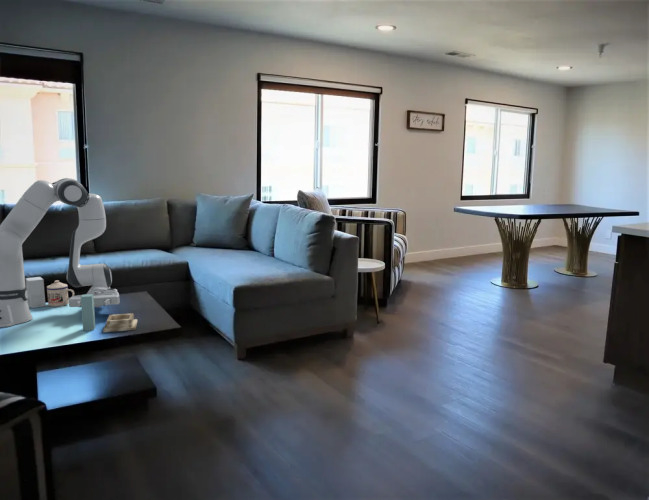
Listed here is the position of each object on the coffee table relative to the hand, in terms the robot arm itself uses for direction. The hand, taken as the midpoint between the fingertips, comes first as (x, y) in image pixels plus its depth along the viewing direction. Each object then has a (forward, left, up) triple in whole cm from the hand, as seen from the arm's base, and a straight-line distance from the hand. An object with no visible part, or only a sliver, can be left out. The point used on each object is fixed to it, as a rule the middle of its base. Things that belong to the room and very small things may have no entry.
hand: (92, 304), depth 214 cm
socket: (+12, -10, -8) cm, 18 cm away
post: (0, -10, -8) cm, 13 cm away
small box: (-30, +36, -8) cm, 47 cm away
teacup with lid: (-19, +35, -8) cm, 40 cm away
